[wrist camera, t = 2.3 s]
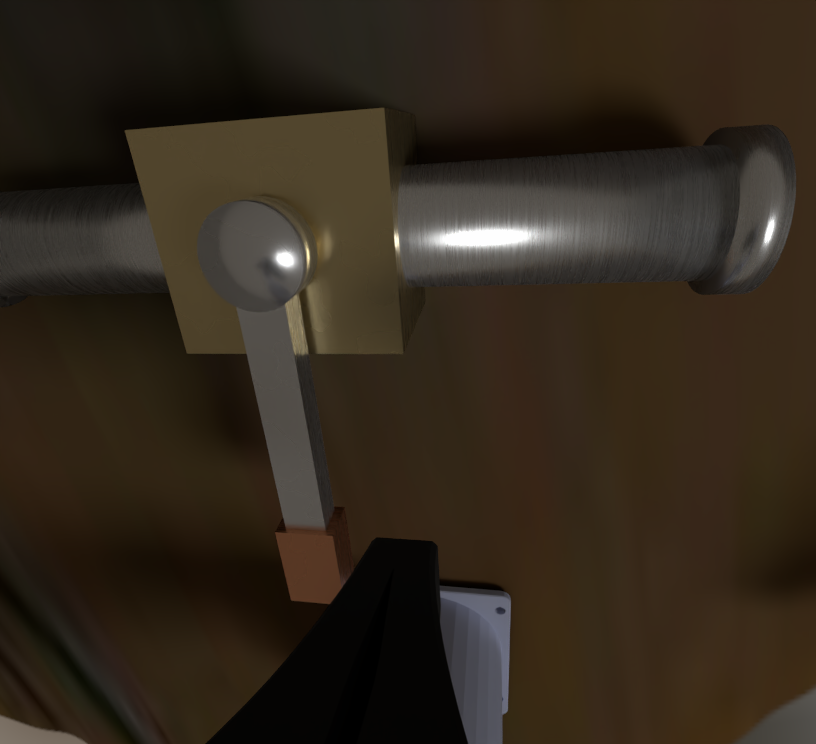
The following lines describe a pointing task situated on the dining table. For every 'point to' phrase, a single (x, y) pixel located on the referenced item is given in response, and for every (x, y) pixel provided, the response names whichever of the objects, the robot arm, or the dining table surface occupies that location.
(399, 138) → the valve pipe
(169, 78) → the dining table surface
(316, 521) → the lever
